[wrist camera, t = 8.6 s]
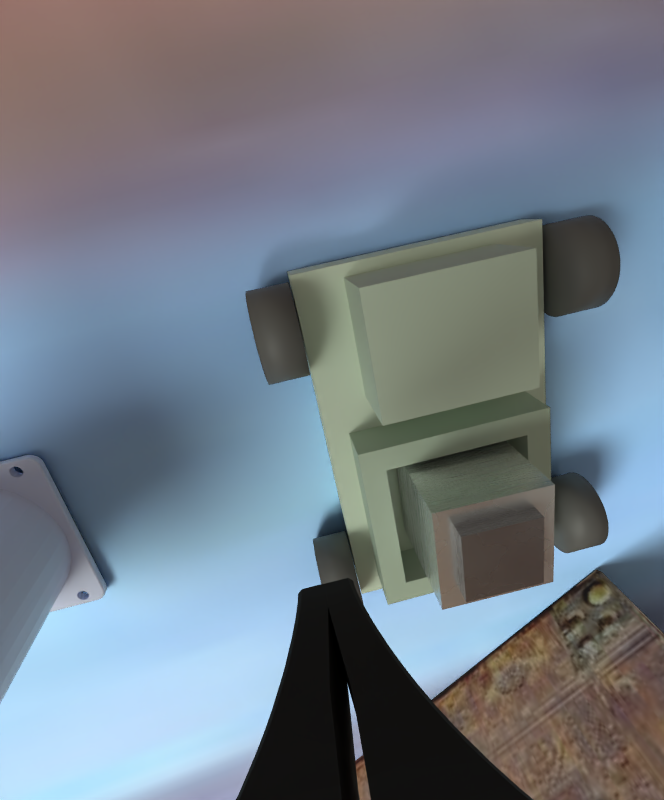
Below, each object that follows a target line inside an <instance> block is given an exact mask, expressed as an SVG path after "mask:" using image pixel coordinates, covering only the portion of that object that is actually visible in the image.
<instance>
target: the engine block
mask: <svg viewBox="0 0 664 800" xmlns="http://www.w3.org/2000/svg"><path fill="white" fill-rule="evenodd" d="M396 470H397V477H398V484H399V491H400V499H401V506H402V513H403V520H404V528H405V531H406V533H407V535H408V537H409V539H410V541H411V544H412V546H413V548H414V550H415V552H416V554H417V556H418V559H419V561H420V563H421V565H422V567H423V569H424V572H425V574H426V576H427V578H428V580H429V582H430V584H431V587H432V589H433V591H434V593H435V595H436V597H437V600H438V602H439V604H440V606H441V608H442V610H443V609H447V608H451V607H455V606H459V605H463V604H467V603H471V602H475V601H479V600H483V599H487V598H491V597H495V596H499V595H503V594H507V593H511V592H514V591H518V590H522V589H526V588H530V587H534V586H538V585H542V584H546V583H550V582H553V567H554V508H555V484H554V483H552V482H551V481H550V480H549V479H548V478H547V477H546V476H545V475H544V474H543V473H541V472H540V471H539V470H538V469H537V468H536V467H535V466H534V465H533V464H531V463H530V462H529V461H528V460H527V459H526V458H525V457H524V456H523V455H521V454H520V453H519V452H518V451H517V450H516V449H515V448H514V447H513V446H511V445H510V444H509V443H508V442H507V441H502V442H498V443H494V444H490V445H486V446H482V447H478V448H474V449H470V450H466V451H462V452H458V453H454V454H450V455H446V456H442V457H438V458H434V459H430V460H426V461H422V462H418V463H414V464H410V465H406V466H402V467H398V468H396Z"/></svg>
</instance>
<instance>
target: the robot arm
mask: <svg viewBox="0 0 664 800" xmlns="http://www.w3.org/2000/svg"><path fill="white" fill-rule="evenodd" d="M14 467H19V468H21V469H22V470H23V473H19V472H17V471H16V470H15V469H14ZM106 589H107V586H106V583H105V581H104V579H103V577H102V576H101V574H100V572H99V570H98V568H97V566H96V564H95V562H94V560H93V558H92V556H91V554H90V552H89V550H88V548H87V546H86V544H85V542H84V540H83V538H82V536H81V534H80V532H79V530H78V528H77V526H76V524H75V523H74V521H73V519H72V517H71V515H70V513H69V511H68V509H67V507H66V505H65V503H64V501H63V499H62V497H61V495H60V493H59V491H58V489H57V487H56V485H55V483H54V481H53V479H52V477H51V475H50V473H49V472H48V470H47V468H46V466H45V464H44V462H43V461H42V459H41V458H39V457H37V456H34V455H26V456H21V457H17V458H13V459H9V460H5V461H0V703H1V701H2V699H3V697H4V695H5V694H6V692H7V690H8V688H9V686H10V684H11V683H12V681H13V679H14V677H15V675H16V673H17V671H18V670H19V668H20V666H21V664H22V662H23V660H24V658H25V657H26V655H27V653H28V651H29V649H30V647H31V645H32V644H33V642H34V640H35V638H36V636H37V634H38V633H39V631H40V629H41V627H42V625H43V623H44V621H45V620H46V618H47V616H48V614H49V612H52V611H56V610H60V609H64V608H68V607H72V606H75V605H79V604H83V603H87V602H91V601H95V600H98V599H101V598H102V597H103V596H104V595H105V592H106ZM81 591H85V592H87V594H85V593H82V592H81ZM347 683H348V685H347ZM348 687H349V690H350V694H351V697H352V701H353V705H354V708H355V712H356V716H357V721H358V727H359V733H360V739H361V744H362V750H363V756H364V762H365V768H366V773H367V779H368V785H369V791H370V797H371V800H533V799H532V798H531V797H530V796H529V795H527V794H526V793H525V792H524V791H523V790H522V789H520V788H519V787H518V786H517V785H516V784H515V783H514V782H512V781H511V780H510V779H509V778H508V777H507V776H506V775H505V774H504V773H503V772H501V771H500V770H499V769H498V768H497V767H496V766H495V765H494V764H493V763H491V762H490V761H489V760H488V759H487V758H486V757H485V756H484V755H483V754H482V753H481V752H480V751H479V750H478V749H477V748H476V747H475V746H474V745H473V744H472V743H471V742H470V741H469V740H468V739H467V738H466V737H465V736H464V735H463V734H462V733H461V732H460V731H459V730H458V729H457V728H456V727H455V726H454V725H453V724H452V723H451V722H450V720H449V719H448V718H447V717H446V716H445V715H444V714H443V713H442V712H441V711H440V710H439V709H438V707H437V706H436V705H435V704H434V703H433V702H432V701H431V699H430V698H429V697H428V696H427V695H426V694H425V692H424V691H423V690H422V689H421V688H420V686H419V685H418V684H417V683H416V682H415V680H414V679H413V678H412V677H411V675H410V674H409V673H408V671H407V670H406V669H405V667H404V666H403V665H402V663H401V662H400V661H399V660H398V658H397V657H396V655H395V654H394V653H393V651H392V650H391V648H390V647H389V646H388V644H387V643H386V641H385V640H384V638H383V637H382V635H381V634H380V632H379V630H378V629H377V627H376V626H375V624H374V623H373V621H372V619H371V618H370V616H369V614H368V612H367V611H366V609H365V607H364V605H363V603H362V601H361V599H360V597H359V595H358V593H357V590H356V588H355V585H354V582H353V580H351V579H349V578H345V579H341V580H337V581H333V582H329V583H325V584H321V585H317V586H313V587H309V588H305V589H302V590H301V591H300V592H299V594H298V605H297V613H296V619H295V625H294V630H293V635H292V640H291V644H290V648H289V652H288V657H287V661H286V665H285V669H284V672H283V676H282V679H281V682H280V686H279V689H278V692H277V696H276V699H275V702H274V706H273V709H272V712H271V714H270V717H269V720H268V723H267V726H266V729H265V731H264V734H263V737H262V739H261V742H260V745H259V747H258V750H257V752H256V755H255V757H254V760H253V762H252V764H251V767H250V769H249V772H248V774H247V776H246V779H245V781H244V783H243V786H242V788H241V790H240V792H239V795H238V797H237V799H236V800H360V798H359V791H358V783H357V773H356V764H355V754H354V744H353V734H352V724H351V714H350V704H349V695H348Z"/></svg>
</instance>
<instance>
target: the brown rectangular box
mask: <svg viewBox="0 0 664 800" xmlns="http://www.w3.org/2000/svg"><path fill="white" fill-rule="evenodd" d="M432 702H433V703H434V704H435V705H436V706H437V707H438V709H439V710H440V711H441V712H442V713H443V714H444V715H445V716H446V717H447V718H448V719H449V720H450V722H451V723H452V724H453V725H454V726H455V727H456V728H457V729H458V730H459V731H460V732H461V733H462V734H463V735H464V736H465V737H466V738H467V739H468V740H469V741H470V742H471V743H472V744H473V745H474V746H475V747H476V748H477V749H478V750H479V751H480V752H481V753H482V754H483V755H484V756H485V757H486V758H487V759H488V760H489V761H490V762H491V763H493V764H494V765H495V766H496V767H497V768H498V769H499V770H500V771H501V772H503V773H504V774H505V775H506V776H507V777H508V778H509V779H510V780H511V781H512V782H514V783H515V784H516V785H517V786H518V787H519V788H520V789H522V790H523V791H524V792H525V793H526V794H527V795H529V796H530V797H531V798H532V799H533V800H664V633H663V632H662V631H661V630H660V629H659V628H658V627H657V626H656V625H655V624H654V623H653V622H652V621H651V620H650V619H649V618H648V617H647V616H646V615H645V614H644V613H643V612H642V611H641V610H640V609H639V608H638V607H637V606H636V605H635V604H633V603H632V602H631V601H630V600H629V599H628V598H627V597H626V596H625V595H624V594H623V593H622V592H621V591H620V590H619V589H618V588H617V587H616V586H615V585H614V584H613V583H612V582H611V581H610V580H609V579H608V578H607V577H606V576H605V575H604V574H603V573H602V572H600V571H597V570H595V571H594V572H593V573H592V574H590V575H589V576H588V577H587V578H585V579H584V580H583V581H581V582H580V583H579V584H578V585H576V586H575V587H574V588H573V589H571V590H570V591H569V592H568V593H566V594H565V595H564V596H563V597H561V598H560V599H559V600H558V601H556V602H555V603H554V604H552V605H551V606H550V607H549V608H547V609H546V610H545V611H544V612H542V613H541V614H540V615H539V616H537V617H536V618H535V619H534V620H532V621H531V622H530V623H529V624H527V625H526V626H525V627H524V628H522V629H521V630H520V631H518V632H517V633H516V634H515V635H513V636H512V637H511V638H510V639H508V640H507V641H506V642H505V643H503V644H502V645H501V646H500V647H498V648H497V649H496V650H495V651H493V652H492V653H491V654H490V655H488V656H487V657H486V658H484V659H483V660H482V661H481V662H479V663H478V664H477V665H476V666H474V667H473V668H472V669H471V670H469V671H468V672H467V673H466V674H464V675H463V676H462V677H461V678H459V679H458V680H457V681H456V682H454V683H453V684H452V685H450V686H449V687H448V688H447V689H445V690H444V691H443V692H442V693H440V694H439V695H438V696H437V697H435V698H434V699H433V700H432ZM355 764H356V773H357V783H358V791H359V798H360V800H371V797H370V791H369V785H368V779H367V773H366V768H365V762H364V756H363V755H362V756H361V757H360V758H359V759H357V760H356V761H355Z"/></svg>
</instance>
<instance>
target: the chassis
mask: <svg viewBox="0 0 664 800" xmlns="http://www.w3.org/2000/svg"><path fill="white" fill-rule="evenodd" d="M287 273H288V278H289V282H290V286H291V290H290V287H289V283H288V282H287V283H282V284H278V285H273V286H269V287H264V288H260V289H255V290H251V291H246V302H247V307H248V312H249V317H250V322H251V326H252V330H253V334H254V339H255V342H256V346H257V350H258V354H259V357H260V361H261V364H262V368H263V371H264V374H265V377H266V379H267V382H268V384H269V385H270V384H275V383H279V382H283V381H287V380H292V379H296V378H300V377H304V376H308V375H310V374H311V378H312V382H313V387H314V391H315V395H316V400H317V404H318V408H319V413H320V417H321V422H322V426H323V430H324V435H325V439H326V443H327V448H328V452H329V456H330V461H331V465H332V469H333V474H334V478H335V483H336V487H337V491H338V496H339V500H340V504H341V509H342V513H343V517H344V522H345V526H346V531H347V535H348V539H349V543H348V540H347V536H346V532H345V531H342V532H338V533H334V534H330V535H326V536H322V537H319V538H315V539H313V544H314V550H315V556H316V561H317V566H318V570H319V575H320V580H321V584H325V583H329V582H333V581H337V580H341V579H345V578H349V579H351V580H353V582H354V585H355V588H356V590H357V593H358V595H359V597H360V599H361V601H362V603H363V600H362V596H361V593H362V594H363V593H367V592H370V591H374V590H378V589H382V588H383V591H384V594H385V597H386V600H387V603H388V604H392V603H396V602H400V601H403V600H407V599H411V598H414V597H418V596H422V595H426V594H429V593H433V592H434V591H433V589H432V587H431V584H430V582H429V580H428V578H427V576H426V574H425V572H424V569H423V567H422V565H421V563H420V561H419V559H418V556H417V554H416V552H415V550H414V548H413V546H412V544H411V541H410V539H409V537H408V535H407V533H406V531H405V528H404V520H403V513H402V506H401V499H400V491H399V484H398V477H397V470H396V468H398V467H402V466H406V465H410V464H414V463H418V462H422V461H426V460H430V459H434V458H438V457H442V456H446V455H450V454H454V453H458V452H462V451H466V450H470V449H474V448H478V447H482V446H486V445H490V444H494V443H498V442H502V441H507V442H508V443H509V444H510V445H511V446H513V447H514V448H515V449H516V450H517V451H518V452H519V453H520V454H521V455H523V456H524V457H525V458H526V459H527V460H528V461H529V462H530V463H531V464H533V465H534V466H535V467H536V468H537V469H538V470H539V471H540V472H541V473H543V474H544V475H545V476H546V477H547V478H548V479H549V480H550V481H551V482H552V483H554V484H555V508H554V545H555V546H556V547H557V548H558V549H559V550H560V551H562V552H564V553H570V552H574V551H578V550H582V549H585V548H589V547H593V546H597V545H600V544H603V543H604V542H605V541H606V539H607V536H608V520H607V515H606V512H605V509H604V506H603V504H602V502H601V500H600V498H599V496H598V494H597V492H596V491H595V489H594V488H593V487H592V485H591V484H590V483H589V482H588V481H587V480H586V479H585V478H584V477H582V476H581V475H579V474H577V473H567V474H563V475H559V476H555V477H551V434H550V407H549V406H547V405H546V396H545V342H544V313H546V314H547V315H549V316H553V317H558V316H562V315H566V314H571V313H575V312H579V311H583V310H588V309H592V308H596V307H599V306H602V305H603V304H605V303H606V302H607V301H608V300H609V299H610V297H611V296H612V295H613V293H614V291H615V289H616V286H617V283H618V280H619V274H620V254H619V248H618V245H617V241H616V239H615V236H614V234H613V232H612V231H611V229H610V228H609V226H608V225H607V224H606V223H605V222H604V221H603V220H601V219H600V218H598V217H595V216H591V215H587V216H581V217H577V218H572V219H568V220H563V221H559V222H555V223H550V224H546V225H543V226H542V219H521V220H516V221H512V222H507V223H503V224H498V225H494V226H489V227H485V228H480V229H476V230H471V231H467V232H462V233H458V234H453V235H449V236H444V237H440V238H435V239H431V240H426V241H422V242H417V243H413V244H408V245H404V246H399V247H395V248H390V249H386V250H381V251H377V252H372V253H368V254H363V255H359V256H354V257H350V258H345V259H341V260H336V261H332V262H327V263H323V264H318V265H314V266H309V267H305V268H300V269H296V270H291V271H287ZM291 291H292V294H291ZM292 295H293V298H292ZM293 299H294V302H293ZM294 304H295V306H294ZM295 308H296V310H295ZM296 313H297V314H296ZM297 317H298V318H297ZM298 321H299V322H298ZM301 334H302V335H301ZM304 347H305V348H304ZM306 356H307V357H306ZM307 360H308V361H307ZM308 365H309V366H308ZM309 369H310V371H309ZM349 544H350V547H349ZM350 548H351V551H350ZM351 552H352V555H351ZM352 557H353V559H352ZM353 561H354V563H353ZM354 565H355V567H354ZM355 570H356V571H355ZM356 574H357V575H356ZM357 578H358V579H357ZM358 581H359V583H358ZM359 585H360V588H359ZM360 589H361V592H360Z"/></svg>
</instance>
